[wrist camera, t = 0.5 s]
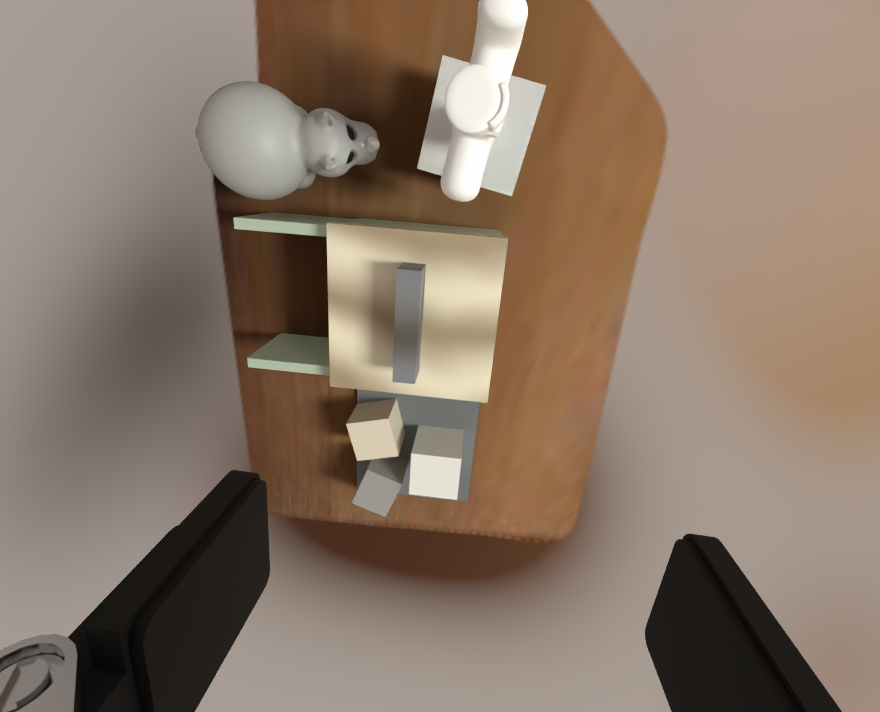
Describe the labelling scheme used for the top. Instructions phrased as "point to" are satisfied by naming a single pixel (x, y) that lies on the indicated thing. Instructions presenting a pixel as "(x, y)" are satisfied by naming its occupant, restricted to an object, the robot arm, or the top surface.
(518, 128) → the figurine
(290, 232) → the bin
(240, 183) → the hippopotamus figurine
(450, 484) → the white stacked cube
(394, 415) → the beige cube
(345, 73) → the top surface
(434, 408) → the mat
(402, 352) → the lid
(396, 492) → the light grey cube
